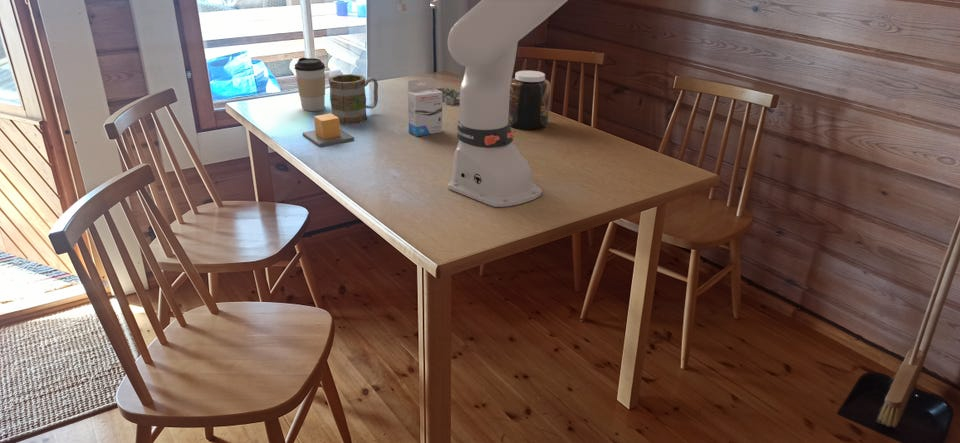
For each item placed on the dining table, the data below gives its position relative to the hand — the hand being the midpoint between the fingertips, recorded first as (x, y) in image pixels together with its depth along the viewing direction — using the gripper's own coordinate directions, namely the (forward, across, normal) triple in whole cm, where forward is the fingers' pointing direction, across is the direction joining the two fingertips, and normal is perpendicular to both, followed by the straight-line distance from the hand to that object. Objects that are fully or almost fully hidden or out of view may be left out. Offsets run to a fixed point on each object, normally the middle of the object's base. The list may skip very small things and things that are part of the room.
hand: (418, 9), depth 170 cm
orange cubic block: (+33, +21, -14) cm, 42 cm away
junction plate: (+34, +21, -14) cm, 42 cm away
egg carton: (+35, -28, -28) cm, 52 cm away
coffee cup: (+34, +13, -43) cm, 56 cm away
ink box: (+34, -4, -4) cm, 35 cm away
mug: (+34, +6, -27) cm, 44 cm away
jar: (+34, -33, +6) cm, 48 cm away
